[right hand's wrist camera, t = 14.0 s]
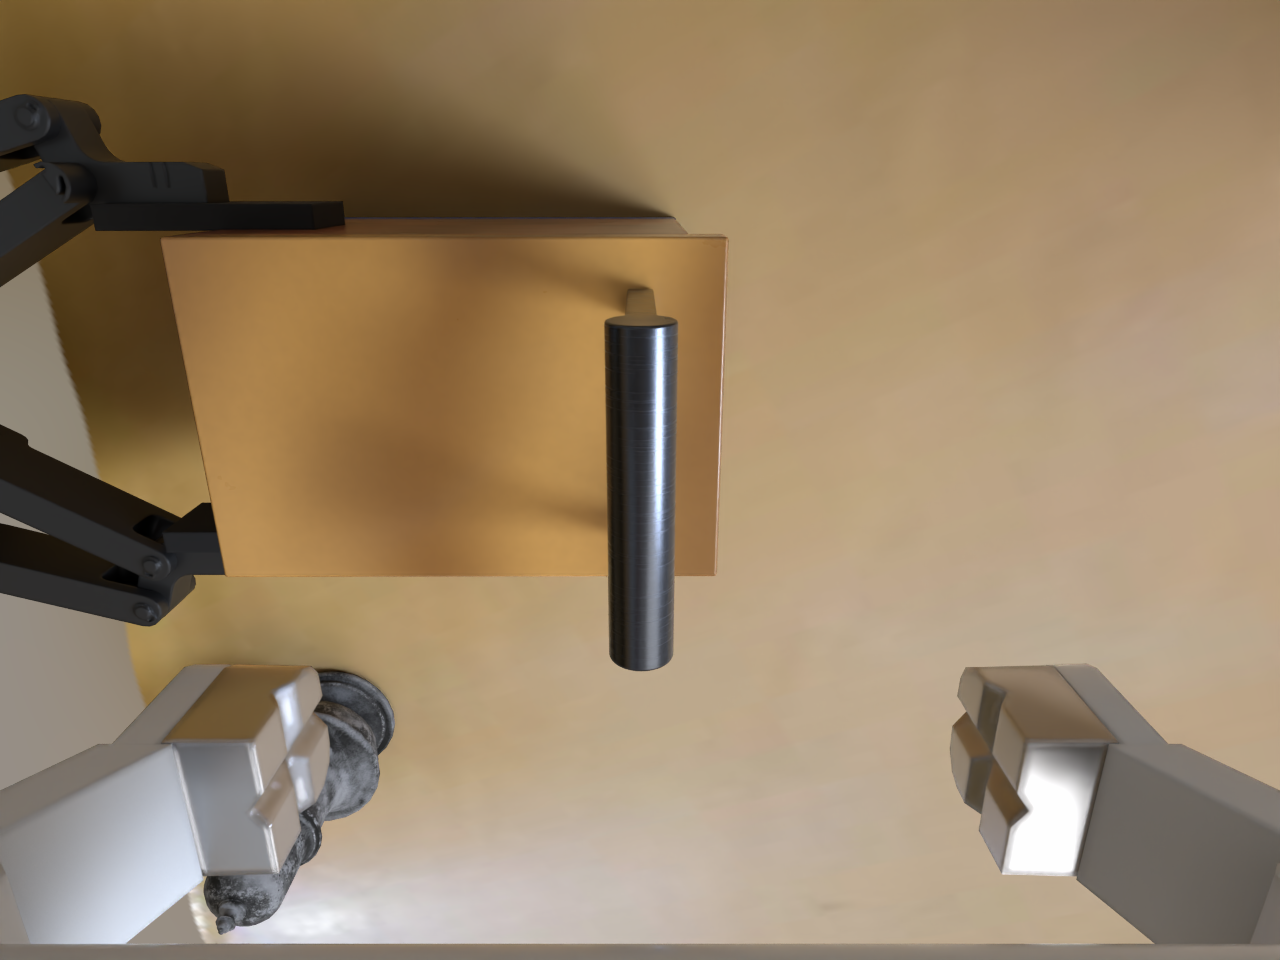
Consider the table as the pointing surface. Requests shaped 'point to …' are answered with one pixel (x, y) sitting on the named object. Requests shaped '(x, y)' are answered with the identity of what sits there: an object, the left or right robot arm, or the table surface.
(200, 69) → the table surface
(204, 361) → the lid
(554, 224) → the chest
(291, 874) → the grey chess piece
